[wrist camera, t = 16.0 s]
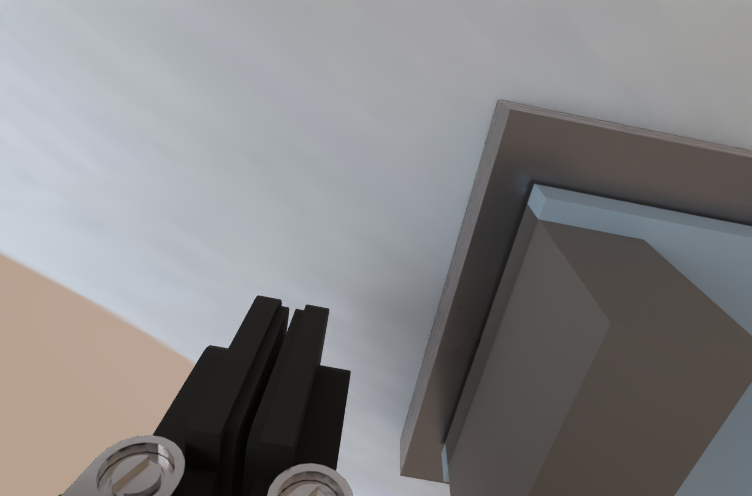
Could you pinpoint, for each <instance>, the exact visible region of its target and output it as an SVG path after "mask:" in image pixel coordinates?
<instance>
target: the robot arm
mask: <svg viewBox="0 0 752 496" xmlns="http://www.w3.org/2000/svg"><path fill="white" fill-rule="evenodd" d="M328 315H329V309H328V308H323V307H318V306H312V305H306V306H305V309H304V310H299V309H296V310H295V312H294V315H293V318H292V320H291V323H290V326H289V328H288V331H287V325H288V317H289V307H283V306H282V301H281V300H280V299H275V298H269V297H264V296H257V297H256V298H255V300H254V302H253V304H252V306H251V308H250V309H249V311H248V313H247V315H246V317H245V319H244V321H243V322H242V324H241V326H240V328H239V330H238V332H237V333H236V335H235V337H234V339H233V341H232V343H231V345H230V346H229V348H222V347H217V346H211V345H210V346H208V347H207V348H206V349H205V350H204V352H203V353H202V355H201V357H200V358H199V360H198V362H197V363H196V365H195V367H194V368H193V370H192V372H191V373H190V375H189V376H188V378H187V380H186V381H185V383H184V385H183V386H182V388H181V390H180V391H179V393H178V395H177V396H176V398H175V399H174V401H173V403H172V404H171V406H170V408H169V409H168V411H167V412H166V414H165V416H164V417H163V419H162V421H161V422H160V424H159V426H158V427H157V429H156V431H155V432H154V434H153V435H147V436H136V437H132V438H129V439H125V440H122V441H120V442H118V443H116V444H114V445H112V446H111V447H109V448H107V449H106V450H105V451H104V452H103V453H101V454H100V455H99V456H98V457H97V458H96V459H95V460H94V461H93V462H92V463H91V464H90V465H89V466H88V467H87V468H86V470H85V471H84V472H83V473H82V474H81V475H80V476H79V477H78V478H77V479H76V481H74V483H73V484H72V485H71V486H70V487H69V488H68V489H67V490H66V491H65V492H64V493H63V494H61V495H59V496H353V493H352V490H351V488H350V486H349V485H348V483H347V481H346V480H345V479H344V478H343V477H342V476H341V475H340V474H339V473H338V472H336V468H337V461H338V454H339V447H340V441H341V434H342V427H343V421H344V414H345V407H346V400H347V394H348V387H349V380H350V373H351V371H349V370H343V369H338V368H332V367H327V366H321V365H320V362H321V356H322V350H323V345H324V339H325V333H326V327H327V321H328ZM286 332H287V334H286Z"/></svg>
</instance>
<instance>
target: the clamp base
mask: <svg viewBox="0 0 752 496" xmlns="http://www.w3.org/2000/svg"><path fill="white" fill-rule="evenodd" d="M534 184H538V185H543V186H548V187H553V188H558V189H563V190H568V191H573V192H579V193H584V194H589V195H594V196H599V197H604V198H609V199H614V200H619V201H624V202H630V203H635V204H640V205H645V206H650V207H655V208H660V209H665V210H670V211H675V212H681V213H686V214H691V215H696V216H701V217H706V218H711V219H716V220H721V221H726V222H732V223H737V224H742V225H747V226H752V151H751V150H746V149H741V148H736V147H731V146H726V145H721V144H716V143H711V142H706V141H701V140H696V139H691V138H686V137H681V136H677V135H672V134H667V133H662V132H657V131H652V130H647V129H642V128H637V127H632V126H627V125H622V124H617V123H612V122H607V121H602V120H597V119H592V118H587V117H582V116H577V115H572V114H567V113H562V112H558V111H553V110H548V109H543V108H538V107H533V106H528V105H523V104H518V103H513V102H508V101H503V100H498V101H497V104H496V108H495V111H494V115H493V118H492V122H491V125H490V129H489V132H488V136H487V139H486V143H485V146H484V150H483V153H482V157H481V160H480V164H479V167H478V171H477V174H476V178H475V181H474V185H473V188H472V192H471V195H470V199H469V202H468V206H467V209H466V213H465V216H464V220H463V223H462V227H461V230H460V234H459V237H458V241H457V244H456V248H455V251H454V255H453V258H452V262H451V265H450V269H449V272H448V276H447V279H446V283H445V286H444V290H443V293H442V297H441V300H440V304H439V307H438V310H437V314H436V317H435V321H434V324H433V328H432V331H431V335H430V338H429V342H428V345H427V349H426V352H425V356H424V359H423V363H422V366H421V370H420V373H419V377H418V380H417V384H416V387H415V391H414V394H413V398H412V401H411V405H410V408H409V412H408V415H407V419H406V422H405V426H404V429H403V433H402V436H401V440H400V476H406V477H412V478H418V479H424V480H429V481H435V482H441V483H447V484H449V482H444V478H443V467H442V456H441V453H442V450H443V447H444V445H445V442H446V439H447V436H448V433H449V430H450V427H451V424H452V421H453V418H454V415H455V413H456V410H457V407H458V404H459V401H460V398H461V395H462V392H463V389H464V386H465V383H466V381H467V378H468V375H469V372H470V369H471V366H472V363H473V360H474V357H475V354H476V351H477V349H478V346H479V343H480V340H481V337H482V334H483V331H484V328H485V325H486V322H487V320H488V317H489V314H490V311H491V308H492V305H493V302H494V299H495V296H496V293H497V290H498V288H499V285H500V282H501V279H502V276H503V273H504V270H505V267H506V264H507V261H508V258H509V256H510V253H511V250H512V247H513V244H514V241H515V238H516V235H517V232H518V229H519V226H520V224H521V221H522V218H523V215H524V212H525V209H526V206H527V203H528V200H529V197H530V195H531V192H532V189H533V186H534Z"/></svg>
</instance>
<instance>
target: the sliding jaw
mask: <svg viewBox="0 0 752 496" xmlns="http://www.w3.org/2000/svg"><path fill="white" fill-rule="evenodd" d="M441 456H442V467H443V478H444V482H449V484H450V494H451V496H752V226H747V225H742V224H737V223H732V222H726V221H721V220H716V219H711V218H706V217H701V216H696V215H691V214H686V213H681V212H675V211H670V210H665V209H660V208H655V207H650V206H645V205H640V204H635V203H630V202H624V201H619V200H614V199H609V198H604V197H599V196H594V195H589V194H584V193H579V192H573V191H568V190H563V189H558V188H553V187H548V186H543V185H538V184H534V186H533V189H532V192H531V195H530V197H529V200H528V203H527V206H526V209H525V212H524V215H523V218H522V221H521V224H520V226H519V229H518V232H517V235H516V238H515V241H514V244H513V247H512V250H511V253H510V256H509V258H508V261H507V264H506V267H505V270H504V273H503V276H502V279H501V282H500V285H499V288H498V290H497V293H496V296H495V299H494V302H493V305H492V308H491V311H490V314H489V317H488V320H487V322H486V325H485V328H484V331H483V334H482V337H481V340H480V343H479V346H478V349H477V351H476V354H475V357H474V360H473V363H472V366H471V369H470V372H469V375H468V378H467V381H466V383H465V386H464V389H463V392H462V395H461V398H460V401H459V404H458V407H457V410H456V413H455V415H454V418H453V421H452V424H451V427H450V430H449V433H448V436H447V439H446V442H445V445H444V447H443V450H442V453H441Z"/></svg>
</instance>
